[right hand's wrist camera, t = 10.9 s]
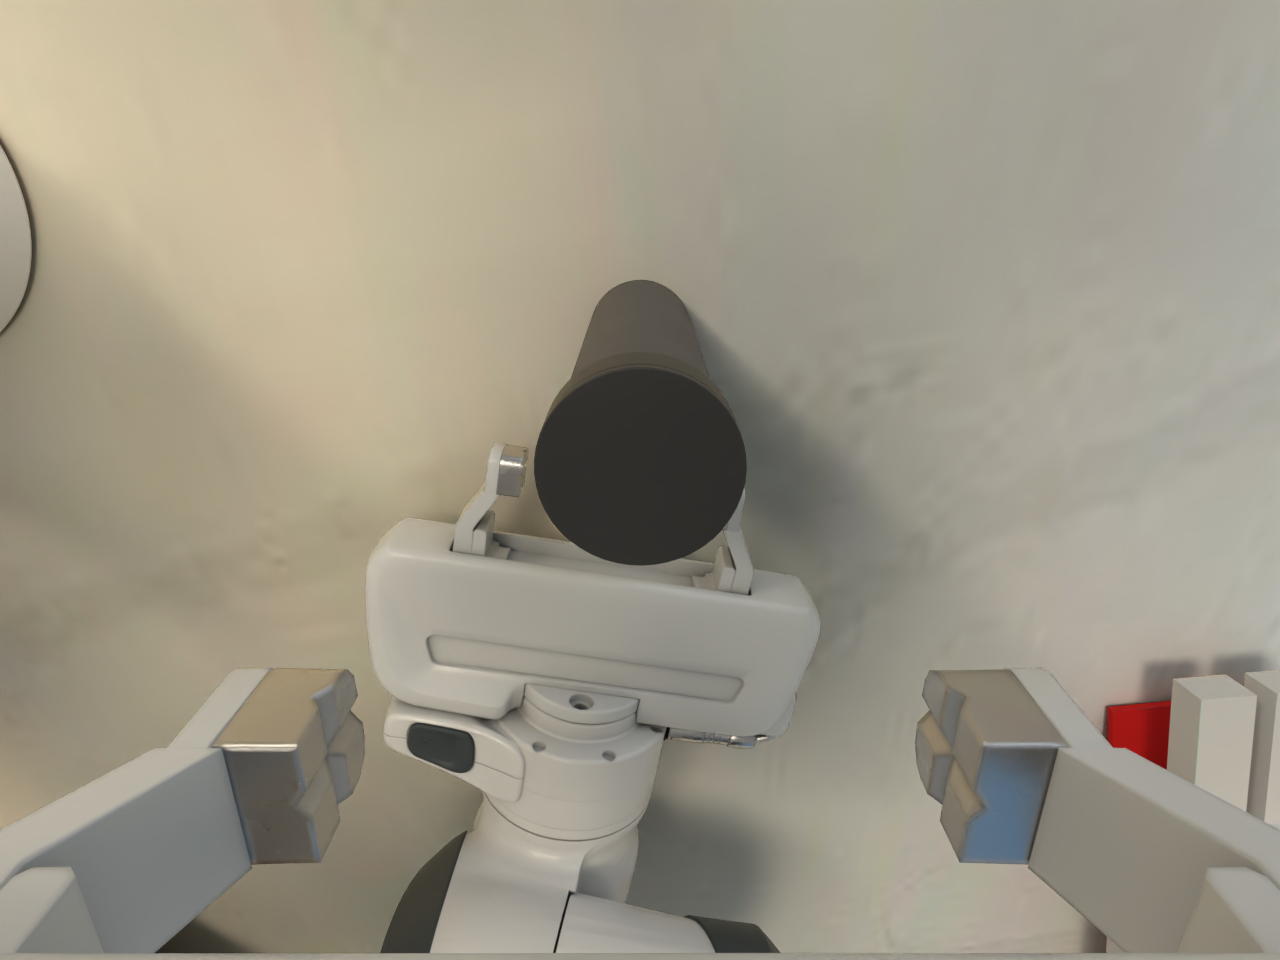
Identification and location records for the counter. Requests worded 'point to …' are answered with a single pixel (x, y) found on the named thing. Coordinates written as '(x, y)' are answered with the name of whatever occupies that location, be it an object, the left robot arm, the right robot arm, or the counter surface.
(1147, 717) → the toy
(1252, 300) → the counter surface
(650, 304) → the dark grey long cylinder
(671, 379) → the lid
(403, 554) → the left robot arm
